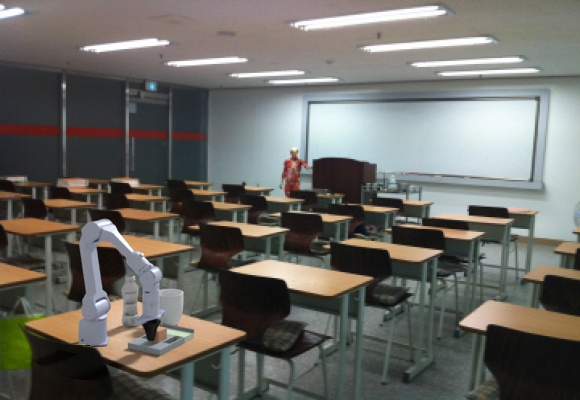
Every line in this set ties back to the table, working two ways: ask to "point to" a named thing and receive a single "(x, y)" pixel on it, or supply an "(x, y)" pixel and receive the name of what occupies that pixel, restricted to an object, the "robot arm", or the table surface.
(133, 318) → the plastic bottle
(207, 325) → the table surface
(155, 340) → the block
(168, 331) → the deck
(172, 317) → the mug
